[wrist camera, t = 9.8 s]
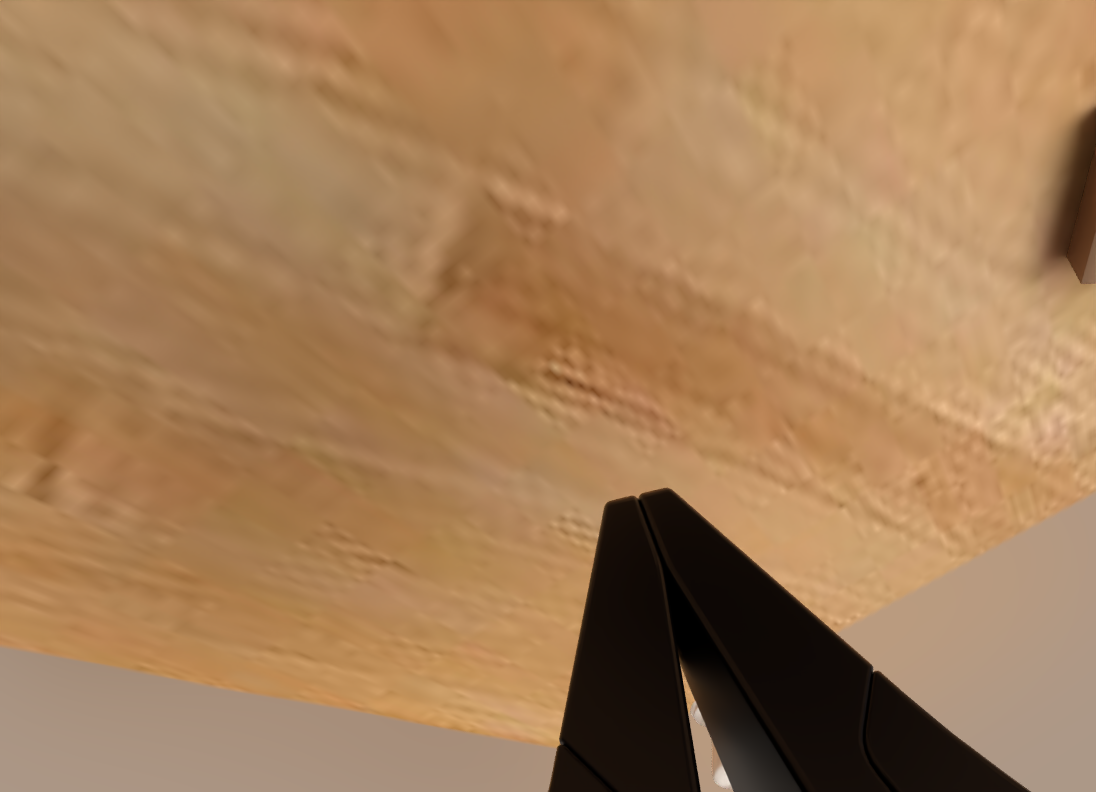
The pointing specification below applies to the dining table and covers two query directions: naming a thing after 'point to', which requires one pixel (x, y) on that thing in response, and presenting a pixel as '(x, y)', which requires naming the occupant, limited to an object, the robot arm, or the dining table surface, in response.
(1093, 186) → the domino
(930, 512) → the dining table surface
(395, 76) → the dining table surface
